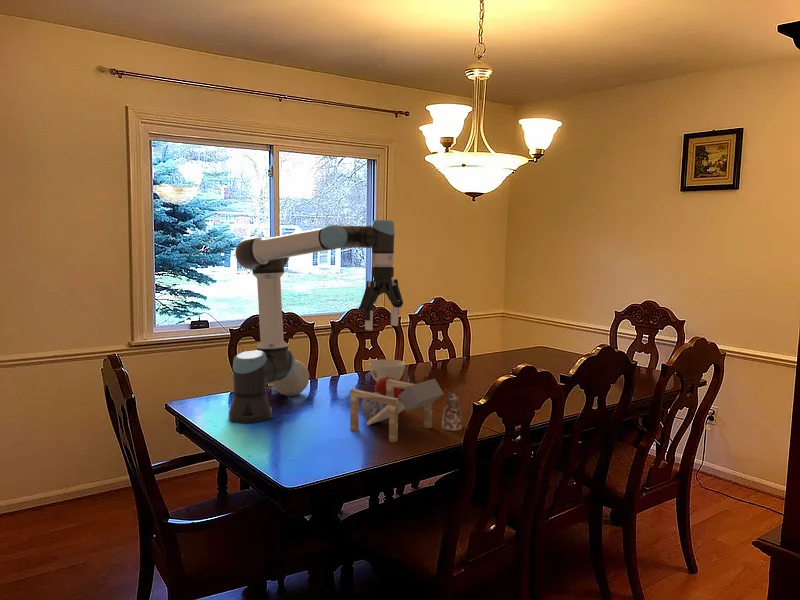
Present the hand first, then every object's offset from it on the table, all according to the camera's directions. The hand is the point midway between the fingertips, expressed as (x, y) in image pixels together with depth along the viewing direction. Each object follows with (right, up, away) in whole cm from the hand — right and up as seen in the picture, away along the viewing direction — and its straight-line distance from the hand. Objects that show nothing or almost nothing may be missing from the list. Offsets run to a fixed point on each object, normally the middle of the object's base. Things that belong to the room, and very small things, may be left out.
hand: (381, 327), depth 213 cm
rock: (0, -29, +4) cm, 29 cm away
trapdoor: (+10, -29, -5) cm, 31 cm away
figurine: (+24, -35, +3) cm, 43 cm away
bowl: (0, -28, +61) cm, 67 cm away
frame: (+3, -35, 0) cm, 35 cm away
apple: (+1, -33, +22) cm, 39 cm away
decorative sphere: (-39, -30, +42) cm, 65 cm away
